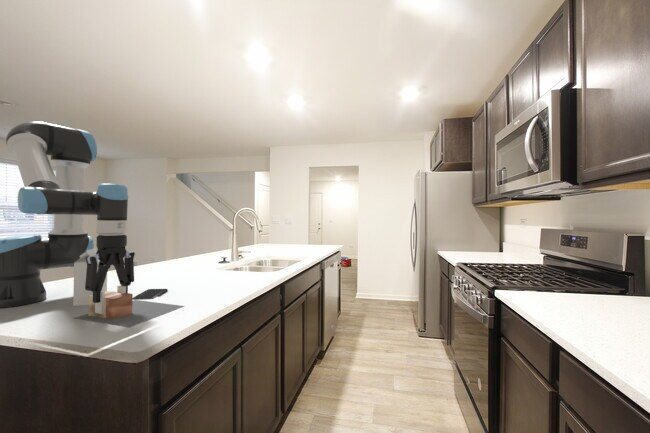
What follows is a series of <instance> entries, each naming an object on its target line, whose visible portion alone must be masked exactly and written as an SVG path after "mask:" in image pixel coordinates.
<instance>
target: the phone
mask: <svg viewBox="0 0 650 433" xmlns="http://www.w3.org/2000/svg"><path fill="white" fill-rule="evenodd" d="M168 291H169V290H168V288H150V289H149V288H148V289H146V290H145V291H142V292H141V293H139V294H137V295H134V296H132V301H133V300H154V299H155V298H158V297H161V296H163V295H164V294H166V293H167V292H168Z"/></svg>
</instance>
